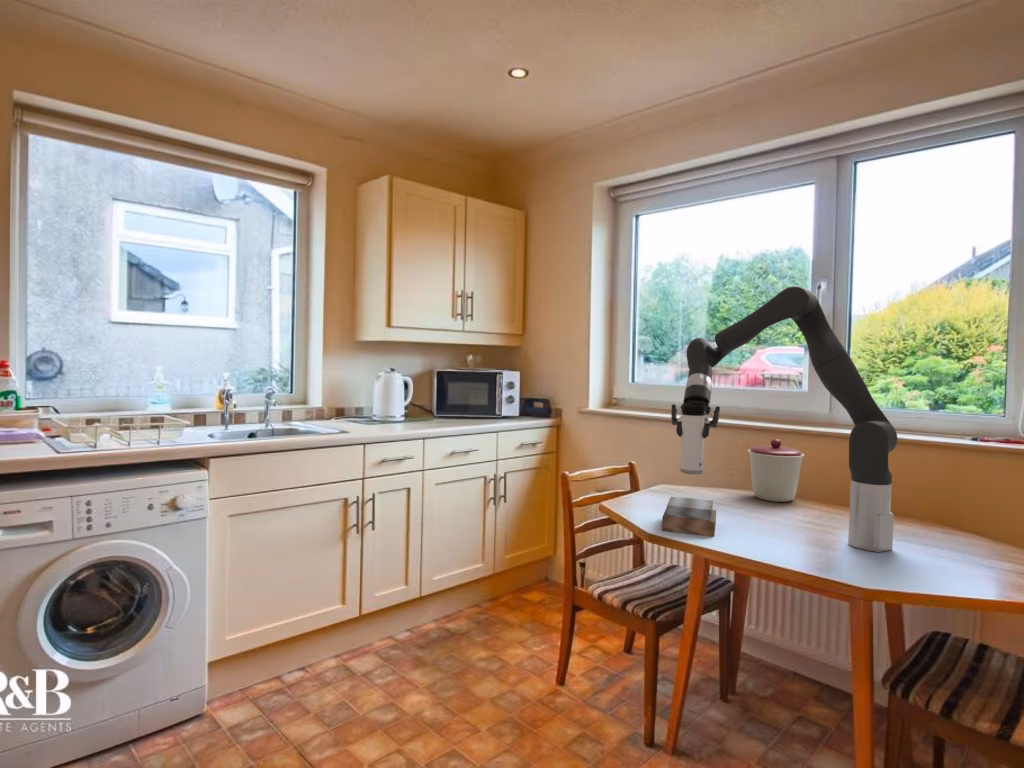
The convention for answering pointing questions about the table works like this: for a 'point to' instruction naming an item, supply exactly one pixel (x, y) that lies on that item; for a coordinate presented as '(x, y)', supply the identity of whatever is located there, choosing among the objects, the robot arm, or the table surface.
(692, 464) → the travel mug
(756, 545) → the table surface
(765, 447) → the canister
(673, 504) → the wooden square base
